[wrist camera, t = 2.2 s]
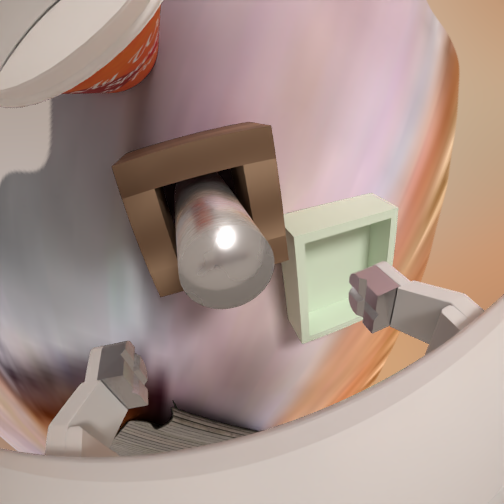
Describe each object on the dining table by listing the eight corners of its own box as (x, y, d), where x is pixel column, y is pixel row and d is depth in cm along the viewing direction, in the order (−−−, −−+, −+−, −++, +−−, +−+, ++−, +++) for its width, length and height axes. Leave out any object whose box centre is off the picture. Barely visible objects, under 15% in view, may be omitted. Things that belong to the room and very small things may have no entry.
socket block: (125, 153, 18) (111, 166, 13) (248, 121, 19) (271, 125, 15) (161, 260, 22) (160, 297, 18) (266, 230, 24) (288, 260, 19)
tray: (275, 216, 23) (293, 236, 20) (371, 192, 25) (398, 207, 21) (287, 318, 29) (302, 344, 26) (365, 289, 31) (384, 309, 28)
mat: (91, 437, 34) (91, 459, 30) (170, 390, 32) (173, 420, 28) (186, 464, 47) (189, 482, 43) (270, 426, 44) (278, 446, 40)
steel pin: (168, 176, 19) (165, 242, 10) (220, 162, 20) (267, 213, 11) (182, 224, 21) (194, 318, 12) (231, 210, 22) (279, 293, 13)
